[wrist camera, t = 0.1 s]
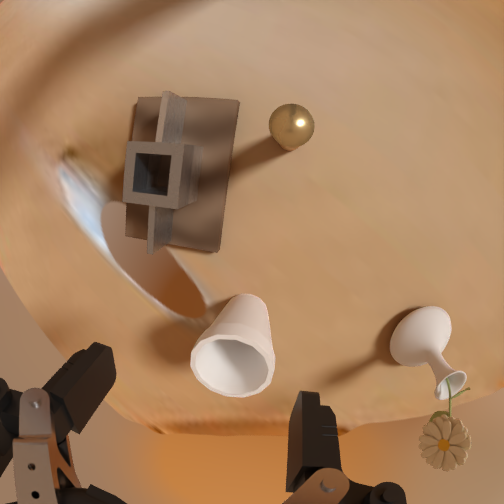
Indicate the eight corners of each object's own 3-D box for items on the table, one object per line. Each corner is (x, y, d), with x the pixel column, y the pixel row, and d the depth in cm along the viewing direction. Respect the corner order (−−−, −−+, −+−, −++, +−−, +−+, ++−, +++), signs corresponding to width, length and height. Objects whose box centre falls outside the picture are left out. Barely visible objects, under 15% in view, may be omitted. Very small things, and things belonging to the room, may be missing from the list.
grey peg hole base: (143, 99, 35) (138, 97, 33) (239, 102, 34) (237, 100, 32) (130, 233, 41) (125, 236, 39) (219, 249, 40) (217, 252, 39)
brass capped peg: (277, 123, 34) (272, 100, 21) (305, 128, 34) (317, 108, 21) (273, 150, 35) (265, 143, 22) (301, 155, 35) (310, 150, 22)
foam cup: (235, 346, 45) (218, 404, 32) (203, 299, 43) (174, 350, 30) (289, 324, 42) (288, 383, 30) (259, 273, 40) (247, 321, 28)
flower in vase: (416, 289, 38) (502, 403, 15) (457, 317, 39) (534, 415, 15) (367, 353, 42) (405, 484, 19) (412, 373, 43) (456, 483, 19)
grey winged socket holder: (160, 100, 33) (135, 90, 26) (210, 101, 33) (193, 89, 26) (146, 236, 39) (121, 251, 32) (192, 244, 39) (173, 261, 32)
